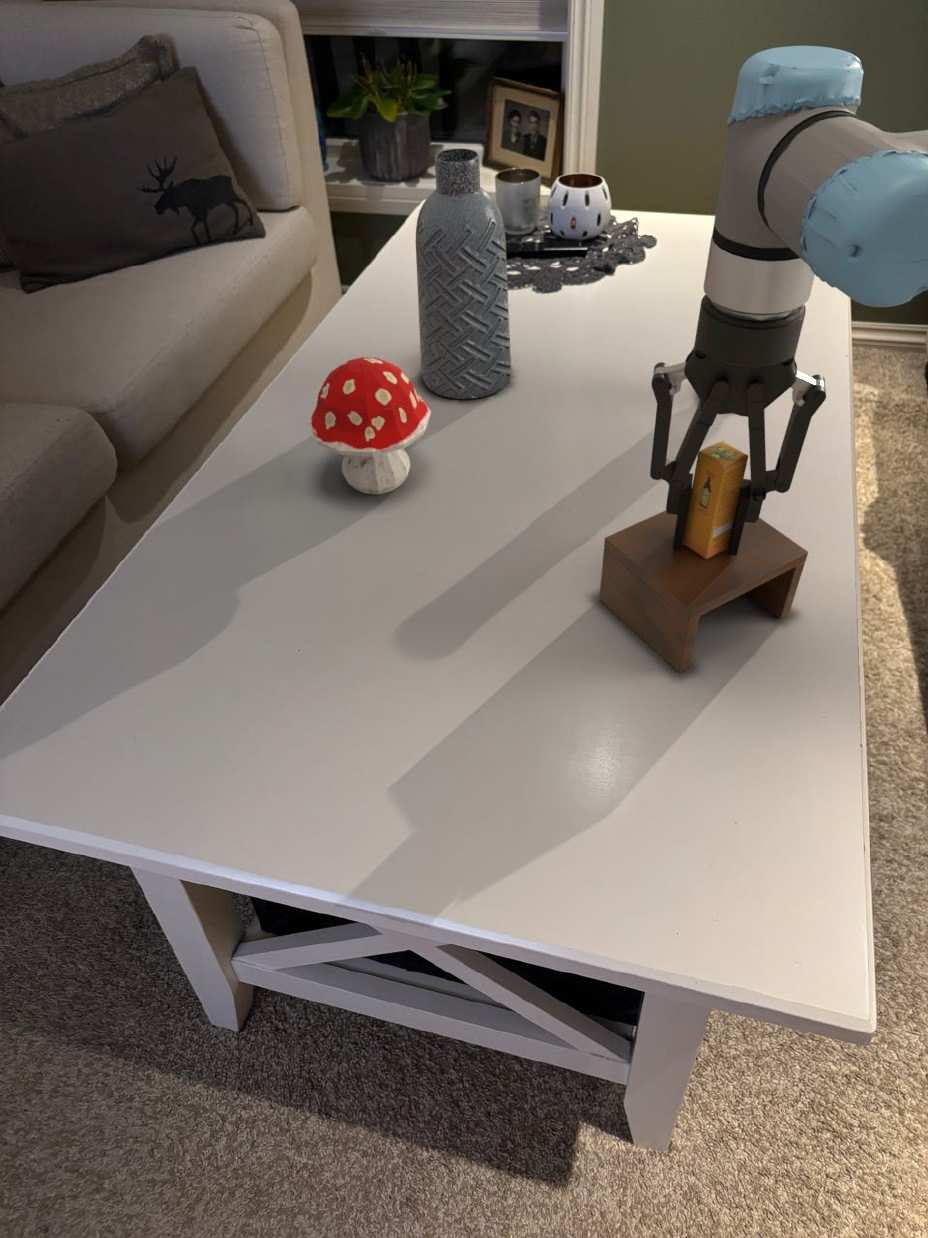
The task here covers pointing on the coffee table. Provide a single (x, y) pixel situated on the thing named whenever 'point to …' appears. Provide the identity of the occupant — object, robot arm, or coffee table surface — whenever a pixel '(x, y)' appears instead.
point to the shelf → (692, 580)
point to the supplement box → (714, 499)
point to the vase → (462, 283)
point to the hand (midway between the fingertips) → (705, 542)
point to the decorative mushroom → (369, 422)
